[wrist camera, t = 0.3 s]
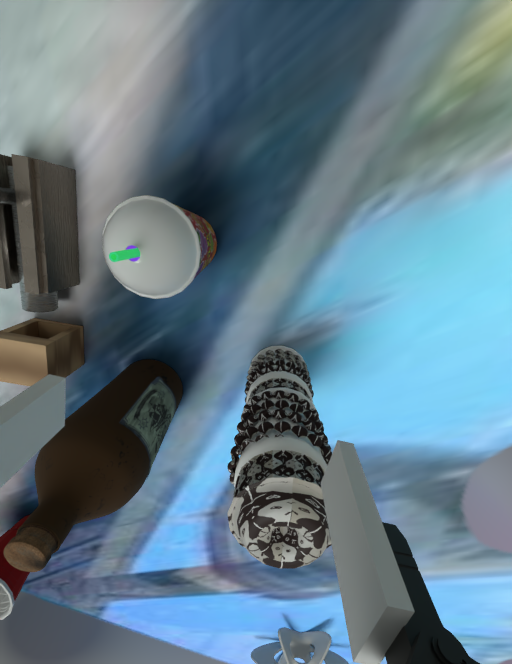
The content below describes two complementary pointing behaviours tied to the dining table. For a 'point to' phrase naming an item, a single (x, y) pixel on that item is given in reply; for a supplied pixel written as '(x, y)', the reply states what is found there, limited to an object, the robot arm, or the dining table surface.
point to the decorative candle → (279, 464)
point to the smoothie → (156, 246)
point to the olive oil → (97, 459)
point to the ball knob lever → (29, 300)
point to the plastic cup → (9, 574)
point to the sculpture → (298, 649)
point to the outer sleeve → (40, 226)
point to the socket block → (40, 351)
